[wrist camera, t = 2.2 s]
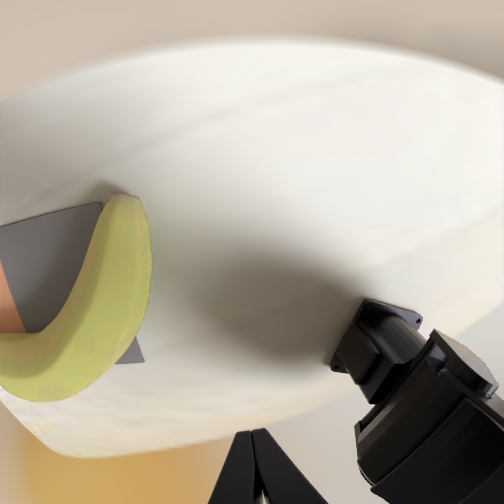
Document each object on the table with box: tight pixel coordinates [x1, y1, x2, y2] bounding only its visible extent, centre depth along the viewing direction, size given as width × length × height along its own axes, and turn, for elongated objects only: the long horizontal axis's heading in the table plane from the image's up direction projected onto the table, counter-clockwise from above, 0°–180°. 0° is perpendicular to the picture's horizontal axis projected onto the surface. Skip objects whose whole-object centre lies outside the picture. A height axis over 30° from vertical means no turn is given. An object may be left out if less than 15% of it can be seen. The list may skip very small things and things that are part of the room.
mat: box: [0, 202, 144, 364], centre depth 19 cm, size 10×12×1 cm
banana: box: [0, 192, 152, 402], centre depth 17 cm, size 14×6×20 cm
